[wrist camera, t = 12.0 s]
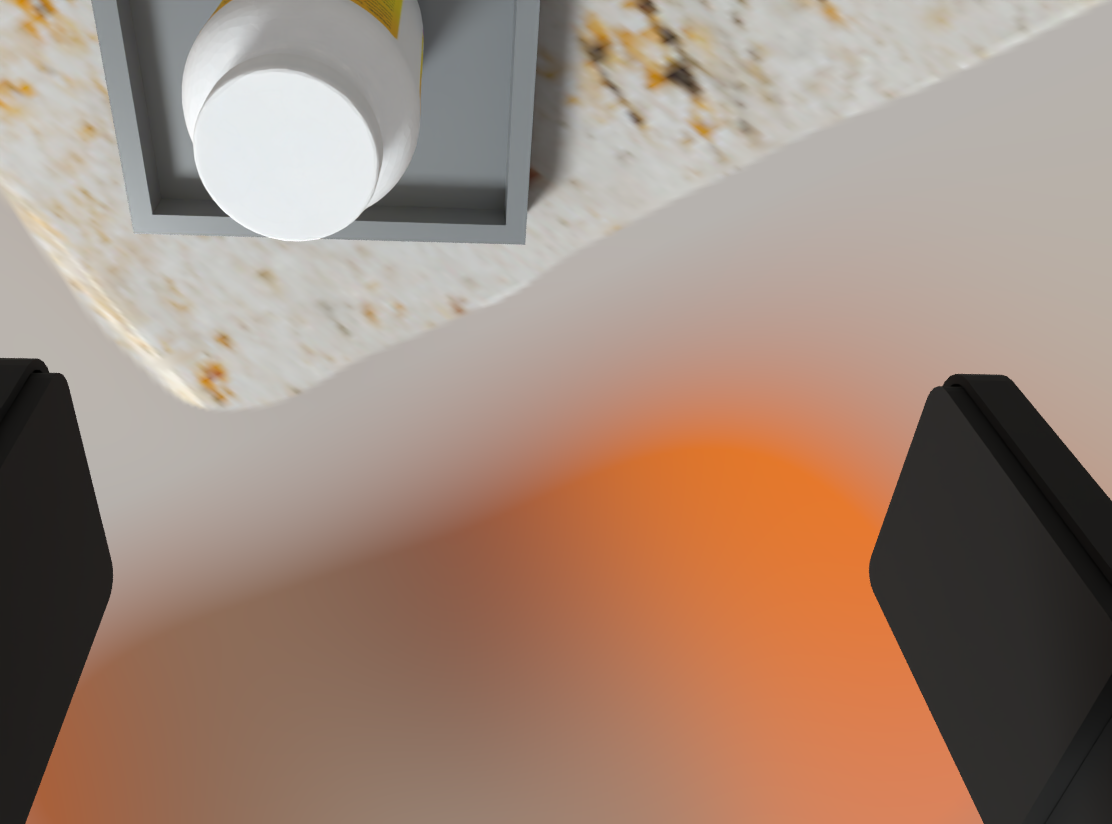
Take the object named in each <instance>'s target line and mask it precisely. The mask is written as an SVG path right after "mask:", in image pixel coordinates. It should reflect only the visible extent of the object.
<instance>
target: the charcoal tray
mask: <svg viewBox="0 0 1112 824" xmlns="http://www.w3.org/2000/svg"><path fill="white" fill-rule="evenodd" d="M91 1H92V7H93V12H94V18H95V23H96V29H97V34H98V40H99V45H100V51H101V56H102V62H103V67H104V73H105V78H106V83H107V89H108V94H109V100H110V105H111V111H112V116H113V122H114V127H115V133H116V138H117V144H118V149H119V155H120V160H121V166H122V171H123V177H124V182H125V187H126V193H127V198H128V204H129V209H130V215H131V220H132V226H133V231H134V234H170V235H205V236H240V237H266V236H263V235H261V234H258V233H255V232H253V231H251V230H249V229H247V228H245V227H244V226H242V225H241V224H239V223H238V222H236V221H235V220H233V219H232V218H231V217H230V216H229V215H227V214H226V213H225V212H224V211H223V210H222V209H221V208H220V207H219V206H218V205H217V204H216V202H215V201H214V200H213V199H212V197H211V196H210V194H209V193H208V191H207V190H206V188H205V186H204V185H203V183H202V180H201V178H200V176H199V173H198V170H197V167H196V163H195V159H194V150H193V142H192V140H191V138H190V135H189V132H188V129H187V126H186V122H185V118H184V112H183V106H182V80H183V73H184V68H185V64H186V60H187V57H188V55H189V52H190V50H191V47H192V45H193V43H194V41H195V40H196V38H197V36H198V35H199V33H200V31H201V30H202V28H203V27H204V26H205V24H206V23H207V21H208V20H209V19H210V17H211V16H212V14H213V13H214V12H215V10H216V9H217V7H218V6H219V4H220V3H221V1H222V0H91ZM417 1H418V4H419V7H420V11H421V16H422V23H423V33H424V47H423V65H422V84H421V116H420V128H419V134H418V140H417V144H416V148H415V151H414V154H413V156H412V159H411V161H410V163H409V165H408V167H407V169H406V171H405V172H404V174H403V175H402V177H401V178H400V180H399V181H398V183H397V184H396V185H395V186H394V187H393V188H392V189H391V190H390V191H389V192H388V193H387V194H386V195H385V196H384V197H383V198H381V199H380V200H379V201H378V202H376V203H374V204H373V205H371V206H370V207H368V208H366V209H365V210H364V211H363V212H362V213H361V214H360V215H359V217H358V218H357V219H355V220H354V221H353V222H352V223H351V224H349V225H348V226H347V227H345V228H344V229H342V230H340V231H338V232H336V233H334V234H332V235H329V236H326V237H323V238H320V239H346V240H382V241H417V242H453V243H488V244H523V245H525V238H526V222H527V206H528V189H529V173H530V157H531V141H532V125H533V109H534V93H535V77H536V61H537V45H538V28H539V12H540V0H417Z"/></svg>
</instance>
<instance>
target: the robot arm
mask: <svg viewBox="0 0 1112 824" xmlns="http://www.w3.org/2000/svg"><path fill="white" fill-rule="evenodd" d="M869 577H870V583H871V587H872V589H873V592H874V594H875V596H876V598H877V600H878V602H879V605H880V607H881V609H882V611H883V613H884V615H885V617H886V619H887V621H888V623H889V626H890V627H891V630H892V632H893V634H894V636H895V638H896V640H897V642H898V644H899V646H900V649H901V651H902V653H903V655H904V657H905V659H906V661H907V663H908V665H909V668H910V670H911V672H912V674H913V676H914V678H915V680H916V682H917V684H918V686H919V689H920V691H921V693H922V695H923V697H924V699H925V701H926V703H927V705H928V707H929V710H930V711H931V714H932V716H933V718H934V720H935V722H936V724H937V726H938V728H939V730H940V733H941V735H942V737H943V739H944V741H945V743H946V745H947V747H948V749H949V751H950V754H951V756H952V758H953V760H954V762H955V764H956V766H957V768H958V770H959V772H960V775H961V777H962V779H963V781H964V783H965V785H966V787H967V789H968V791H969V793H970V795H971V798H972V800H973V802H974V804H975V806H976V808H977V810H978V812H979V814H980V816H981V818H982V821H983V823H984V824H1112V501H1111V500H1110V498H1109V497H1108V496H1107V495H1106V494H1105V492H1104V491H1103V490H1102V489H1101V488H1100V486H1099V485H1098V484H1097V483H1096V482H1095V480H1094V479H1093V478H1092V477H1091V475H1090V474H1089V473H1088V472H1087V471H1086V469H1085V468H1084V467H1083V466H1082V465H1081V463H1080V462H1079V461H1078V460H1077V458H1076V457H1075V456H1074V455H1073V454H1072V452H1071V451H1070V450H1069V449H1068V448H1067V446H1066V445H1065V444H1064V443H1063V442H1062V440H1061V439H1060V438H1059V437H1058V436H1057V434H1056V433H1055V432H1054V431H1053V429H1052V428H1051V427H1050V426H1049V425H1048V423H1047V422H1046V421H1045V420H1044V419H1043V417H1042V416H1041V415H1040V414H1039V413H1038V411H1037V410H1036V409H1035V408H1034V406H1033V405H1032V404H1031V403H1030V402H1029V400H1028V399H1027V398H1026V397H1025V396H1024V394H1023V393H1022V392H1021V391H1020V390H1019V388H1018V387H1017V386H1016V385H1015V384H1014V382H1013V381H1012V380H1010V379H1009V378H1008V377H1007V376H1004V375H985V374H955V375H952V376H950V377H949V378H948V379H947V380H946V381H945V382H944V385H943V386H938V387H936V388H934V389H933V390H932V391H931V392H930V394H929V396H928V398H927V400H926V403H925V406H924V409H923V412H922V415H921V417H920V420H919V423H918V426H917V429H916V431H915V434H914V437H913V440H912V443H911V445H910V448H909V451H908V454H907V457H906V460H905V462H904V465H903V468H902V471H901V474H900V477H899V480H898V482H897V485H896V488H895V491H894V493H893V496H892V499H891V502H890V505H889V508H888V511H887V513H886V516H885V519H884V522H883V525H882V527H881V530H880V533H879V536H878V539H877V542H876V545H875V547H874V550H873V553H872V556H871V559H870V565H869ZM112 583H113V568H112V561H111V557H110V553H109V549H108V545H107V540H106V537H105V532H104V528H103V524H102V520H101V517H100V512H99V508H98V504H97V500H96V496H95V492H94V488H93V484H92V480H91V475H90V471H89V467H88V463H87V459H86V456H85V451H84V447H83V443H82V439H81V435H80V431H79V427H78V423H77V419H76V415H75V411H74V407H73V402H72V398H71V394H70V390H69V386H68V383H67V380H66V379H65V377H64V376H63V375H62V374H60V373H49V371H48V368H47V367H46V365H45V363H44V362H43V361H41V360H40V359H27V358H0V824H25V823H26V820H27V817H28V815H29V812H30V809H31V807H32V804H33V801H34V799H35V796H36V793H37V791H38V788H39V785H40V783H41V780H42V777H43V774H44V772H45V769H46V766H47V764H48V761H49V758H50V756H51V753H52V750H53V748H54V745H55V742H56V740H57V737H58V734H59V732H60V729H61V726H62V723H63V721H64V718H65V716H66V713H67V710H68V708H69V705H70V702H71V699H72V697H73V694H74V692H75V689H76V686H77V684H78V681H79V678H80V676H81V673H82V670H83V668H84V665H85V662H86V660H87V657H88V654H89V651H90V649H91V646H92V644H93V641H94V638H95V636H96V633H97V630H98V628H99V625H100V622H101V619H102V617H103V614H104V611H105V609H106V606H107V603H108V601H109V598H110V594H111V589H112Z"/></svg>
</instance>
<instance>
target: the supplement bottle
mask: <svg viewBox="0 0 1112 824" xmlns="http://www.w3.org/2000/svg"><path fill="white" fill-rule="evenodd" d="M423 47H424V33H423V23H422V16H421V11H420V7H419V4H418V1H417V0H222V1H221V3H220V4H219V6H218V7H217V9H216V10H215V12H214V13H213V14H212V16H211V17H210V19H209V20H208V21H207V23H206V24H205V26H204V27H203V28H202V30H201V31H200V33H199V35H198V36H197V38H196V40H195V41H194V43H193V45H192V47H191V50H190V52H189V55H188V57H187V60H186V64H185V68H184V73H183V80H182V106H183V112H184V118H185V122H186V126H187V129H188V132H189V135H190V138H191V140H192V142H193V150H194V159H195V163H196V167H197V170H198V173H199V176H200V178H201V180H202V183H203V185H204V186H205V188H206V190H207V191H208V193H209V194H210V196H211V197H212V199H213V200H214V201H215V202H216V204H217V205H218V206H219V207H220V208H221V209H222V210H223V211H224V212H225V213H226V214H227V215H229V216H230V217H231V218H232V219H233V220H235V221H236V222H238V223H239V224H241V225H242V226H244V227H245V228H247V229H249V230H251V231H253V232H255V233H258V234H261V235H263V236H266V237H270V238H274V239H279V240H285V241H308V240H316V239H320V238H323V237H326V236H329V235H332V234H334V233H336V232H338V231H340V230H342V229H344V228H345V227H347V226H348V225H349V224H351V223H352V222H353V221H354V220H355V219H357V218H358V217H359V215H360V214H361V213H362V212H363V211H364V210H365V209H366V208H368V207H370V206H371V205H373V204H374V203H376V202H378V201H379V200H380V199H381V198H383V197H384V196H385V195H386V194H387V193H388V192H389V191H390V190H391V189H392V188H393V187H394V186H395V185H396V184H397V183H398V181H399V180H400V178H401V177H402V175H403V174H404V172H405V171H406V169H407V167H408V165H409V163H410V161H411V159H412V156H413V154H414V151H415V148H416V144H417V140H418V134H419V128H420V116H421V84H422V65H423Z"/></svg>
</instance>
